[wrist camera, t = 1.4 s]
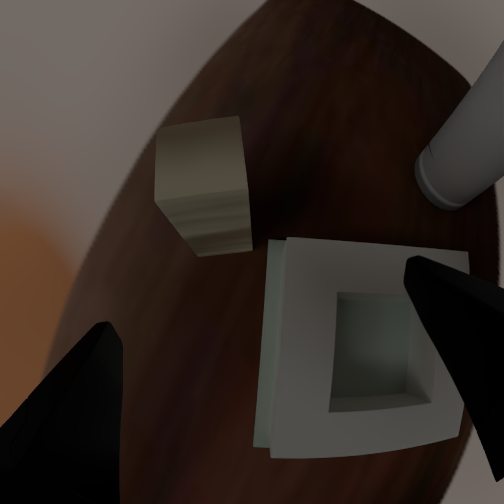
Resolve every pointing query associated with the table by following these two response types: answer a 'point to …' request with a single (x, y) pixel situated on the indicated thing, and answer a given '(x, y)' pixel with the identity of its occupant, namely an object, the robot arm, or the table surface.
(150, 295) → the table surface
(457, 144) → the travel mug
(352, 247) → the socket block
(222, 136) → the birch peg
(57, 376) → the robot arm
